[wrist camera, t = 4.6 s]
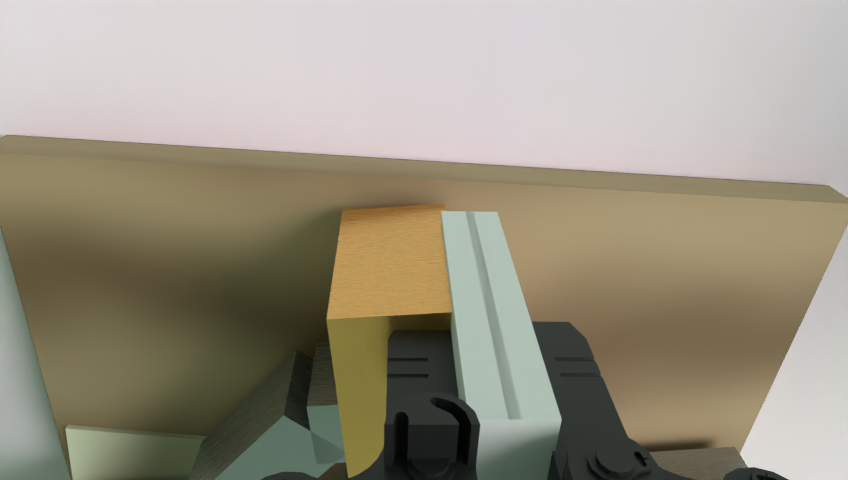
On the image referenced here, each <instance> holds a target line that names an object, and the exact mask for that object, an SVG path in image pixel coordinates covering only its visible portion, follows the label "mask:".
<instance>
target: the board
mask: <svg viewBox="0 0 848 480" xmlns="http://www.w3.org/2000/svg"><path fill="white" fill-rule="evenodd" d="M435 204H445V210H446V211H473V212H497V213H498V216H499V219H500V223H501V226H502V229H503V232H504V235H505V239H506V242H507V245H508V248H509V251H510V255H511V258H512V261H513V264H514V268H515V271H516V274H517V277H518V280H519V284H520V287H521V290H522V293H523V297H524V300H525V303H526V306H527V309H528V313H529V316H530V319H531V321H536V322H570V323H571V324H572V325H573V326H574V327H575V328H576V329H577V330H578V331H579V332H580V333H581V334H582V335H583V336H584V337H585V338H586V339H587V342H588V344H589V346H590V349H591V351H592V353H593V356H594V361H596V363H597V365H598V368H599V370H600V372H601V377H603V379H604V382H605V384H606V386H607V389H608V391H609V394H610V396H611V398H612V401H613V403H614V405H615V408H616V410H617V412H618V415H619V417H620V420H621V422H622V424H623V427H624V429H625V431H626V434H627V436H628V438H630V439H632V440H634V441H636V442H637V443H638V444H640V445H641V446H642V447H643V448H645V449H646V450H647V451H649V452H657V451H673V450H689V449H704V448H720V447H735V448H736V449H737V451H738V453H739V454H740V452H741V449H742V447H743V445H744V443H745V441H746V439H747V437H748V435H749V432H750V430H751V428H752V426H753V424H754V422H755V420H756V418H757V415H758V413H759V411H760V409H761V407H762V405H763V403H764V401H765V398H766V396H767V394H768V392H769V390H770V388H771V386H772V384H773V381H774V379H775V377H776V375H777V373H778V371H779V369H780V367H781V365H782V362H783V360H784V358H785V356H786V354H787V352H788V350H789V348H790V345H791V343H792V341H793V339H794V337H795V335H796V333H797V331H798V328H799V326H800V324H801V322H802V320H803V318H804V316H805V314H806V311H807V309H808V307H809V305H810V303H811V301H812V299H813V297H814V294H815V292H816V290H817V288H818V286H819V284H820V282H821V280H822V277H823V275H824V273H825V271H826V269H827V267H828V265H829V263H830V261H831V258H832V256H833V254H834V252H835V250H836V248H837V246H838V244H839V241H840V239H841V237H842V235H843V233H844V231H845V229H846V227H847V224H848V198H846V197H845V196H843V195H842V194H840V193H839V192H837V191H836V190H834V189H833V188H831V187H830V186H823V185H807V184H791V183H775V182H759V181H743V180H726V179H710V178H694V177H678V176H662V175H645V174H629V173H613V172H597V171H581V170H565V169H548V168H532V167H516V166H500V165H484V164H468V163H451V162H435V161H419V160H403V159H387V158H370V157H354V156H338V155H322V154H306V153H290V152H273V151H257V150H241V149H225V148H209V147H192V146H176V145H160V144H144V143H128V142H112V141H95V140H79V139H63V138H47V137H31V136H15V135H7V136H5V137H4V138H2V139H1V140H0V226H1V230H2V233H3V237H4V240H5V244H6V248H7V251H8V255H9V258H10V262H11V266H12V269H13V273H14V276H15V280H16V284H17V287H18V291H19V294H20V298H21V302H22V305H23V309H24V312H25V316H26V320H27V323H28V327H29V330H30V334H31V338H32V341H33V345H34V348H35V352H36V355H37V359H38V363H39V366H40V370H41V373H42V377H43V381H44V384H45V388H46V391H47V395H48V399H49V402H50V406H51V409H52V413H53V417H54V420H55V424H56V427H57V431H58V435H59V438H60V442H61V445H62V449H63V452H64V456H65V460H66V463H67V467H68V470H69V474H70V478H71V480H189V477H190V474H191V471H192V468H193V465H194V463H195V460H196V457H197V454H198V451H199V448H200V445H201V442H202V441H203V440H204V439H205V438H206V437H207V436H208V435H209V434H210V433H211V432H212V431H213V430H214V429H215V428H216V427H217V426H219V425H220V424H221V423H222V422H223V421H224V420H225V419H226V418H227V417H228V416H229V415H230V414H231V413H232V412H233V411H234V410H235V409H236V408H237V407H238V406H239V405H240V404H241V403H242V402H243V401H244V400H245V399H246V398H247V397H248V396H249V395H250V394H251V393H252V392H254V391H255V390H256V389H257V388H258V387H259V386H260V385H261V384H262V383H263V382H264V381H265V380H266V379H267V378H268V377H269V376H270V375H271V374H272V373H273V372H274V371H275V370H276V369H277V368H278V367H279V366H280V365H281V364H282V363H283V362H284V361H285V360H286V359H288V358H289V357H290V356H291V355H292V354H293V353H294V352H295V351H296V350H299V351H300V352H302V353H303V354H305V355H307V356H308V357H310V358H311V359H313V360H314V357H315V351H316V345H317V341H329V334H328V327H327V320H326V319H327V312H328V305H329V299H330V292H331V285H332V278H333V271H334V265H335V258H336V251H337V244H338V238H339V231H340V224H341V217H342V210H343V209H359V208H378V207H397V206H416V205H435ZM318 479H319V480H346V479H348V472H347V465H346V462H345V463H335V464H334V465H332V466H331V467H330V468H329V469H328V470H327V471H325V472H324V473H323V474H322V475H321V476H319V477H318Z"/></svg>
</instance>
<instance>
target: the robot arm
mask: <svg viewBox="0 0 848 480" xmlns="http://www.w3.org/2000/svg"><path fill="white" fill-rule="evenodd" d="M441 229H442V237H443V245H444V253H445V261H446V269H447V277H448V285H449V293H450V301H451V309H452V319H451V330H394V331H393V332H392V334H391V335H390V337H389V338H388V356H387V394H386V420H385V423H384V447H383V449H382V451H381V453H380V455H379V457H378V458H377V459H376V461H375V462H374V463H373V464H372V465H371V466H370V467H369V468H367V469H366V470H364V471H363V472H361V473H360V474H358V475H355V476H353V477H351V478H348V479H346V480H695V479H691V478H688V477H684V476H680V475H677V474H675V473H672V472H669V471H666V470H664V469H662V468H661V467H659V466H658V464H657V463H656V461H655V460H654V459H653V457H652V456H651V454H650V453H649V451H647V450H646V449H645V448H643V447H642V446H641V445H640V444H638V443H637V442H636V441H634V440H632V439H630V438H628V436H627V434H626V431H625V429H624V427H623V424H622V422H621V420H620V417H619V415H618V412H617V410H616V408H615V405H614V403H613V401H612V398H611V396H610V394H609V391H608V389H607V386H606V384H605V382H604V379H603V377H601V372H600V370H599V368H598V365H597V363H596V361H594V356H593V353H592V351H591V349H590V346H589V344H588V342H587V339H586V338H585V337H584V336H583V335H582V334H581V333H580V332H579V331H578V330H577V329H576V328H575V327H574V326H573V325H572V324H571V323H570V322H536V321H531V319H530V316H529V313H528V309H527V306H526V303H525V300H524V297H523V293H522V290H521V287H520V284H519V280H518V277H517V274H516V271H515V268H514V264H513V261H512V258H511V255H510V251H509V248H508V245H507V242H506V239H505V235H504V232H503V229H502V226H501V223H500V219H499V216H498V213H497V212H473V211H441ZM261 480H319V479H318V478H315V477H313V476H310V475H308V474H306V473H303V472H280V473H277V474H273V475H270V476H266V477H264V478H263V479H261ZM723 480H788V479H786V478H784V477H782V476H780V475H778V474H776V473H774V472H771V471H767V470H763V469H759V468H755V467H753V468H737V469H735V470H733V471H731V472H729V473H727V474H725V476H724V478H723Z"/></svg>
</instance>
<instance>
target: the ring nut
mask: <svg viewBox="0 0 848 480" xmlns="http://www.w3.org/2000/svg"><path fill="white" fill-rule="evenodd" d="M441 211H446V210H445V204H435V205H416V206H397V207H378V208H359V209H343V210H342V217H341V224H340V231H339V238H338V244H337V251H336V258H335V265H334V271H333V278H332V285H331V292H330V299H329V305H328V312H327V319H326V320H327V327H328V334H329V341H317V345H316V351H315V357H314V360H313V359H311V358H310V357H308V356H307V355H305V354H303V353H302V352H300V351H299V350H296V351H295V352H294V353H293V354H292V355H291V356H290V357H289V358H288V359H286V360H285V361H284V362H283V363H282V364H281V365H280V366H279V367H278V368H277V369H276V370H275V371H274V372H273V373H272V374H271V375H270V376H269V377H268V378H267V379H266V380H265V381H264V382H263V383H262V384H261V385H260V386H259V387H258V388H257V389H256V390H255V391H254V392H252V393H251V394H250V395H249V396H248V397H247V398H246V399H245V400H244V401H243V402H242V403H241V404H240V405H239V406H238V407H237V408H236V409H235V410H234V411H233V412H232V413H231V414H230V415H229V416H228V417H227V418H226V419H225V420H224V421H223V422H222V423H221V424H220V425H219V426H217V427H216V428H215V429H214V430H213V431H212V432H211V433H210V434H209V435H208V436H207V437H206V438H205V439H204V440H203V441H202V442H201V445H200V448H199V451H198V454H197V457H196V460H195V463H194V465H193V468H192V471H191V474H190V477H189V480H261V479H263V478H264V477H266V476H270V475H273V474H277V473H280V472H303V473H306V474H308V475H310V476H313V477H315V478H318V477H319V476H321V475H322V474H323V473H324V472H325V471H327V470H328V469H329V468H330V467H331V466H332V465H334V464H335V463H345V462H346V465H347V472H348V478H351V477H353V476H355V475H358V474H360V473H361V472H363V471H364V470H366V469H367V468H369V467H370V466H371V465H372V464H373V463H374V462H375V461H376V459H377V458H378V457H379V455H380V453H381V451H382V449H383V447H384V423H385V420H386V394H387V356H388V338H389V337H390V335H391V334H392V332H393V331H394V330H451V319H452V309H451V301H450V293H449V285H448V277H447V269H446V261H445V253H444V245H443V237H442V229H441ZM649 453H650V454H651V456H652V457H653V459H654V460H655V461H656V463H657V464H658V466H659V467H661V468H662V469H664V470H666V471H669V472H672V473H675V474H677V475H680V476H684V477H688V478H691V479H695V480H723V478H724V476H725V474H727V473H729V472H731V471H733V470H735V469H737V468H748V467H747V465H746V464H745V462H744V460H743V459H742V457H741V456H740V454H739V453H738V451H737V449H736V448H735V447H720V448H704V449H689V450H673V451H657V452H649Z"/></svg>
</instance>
